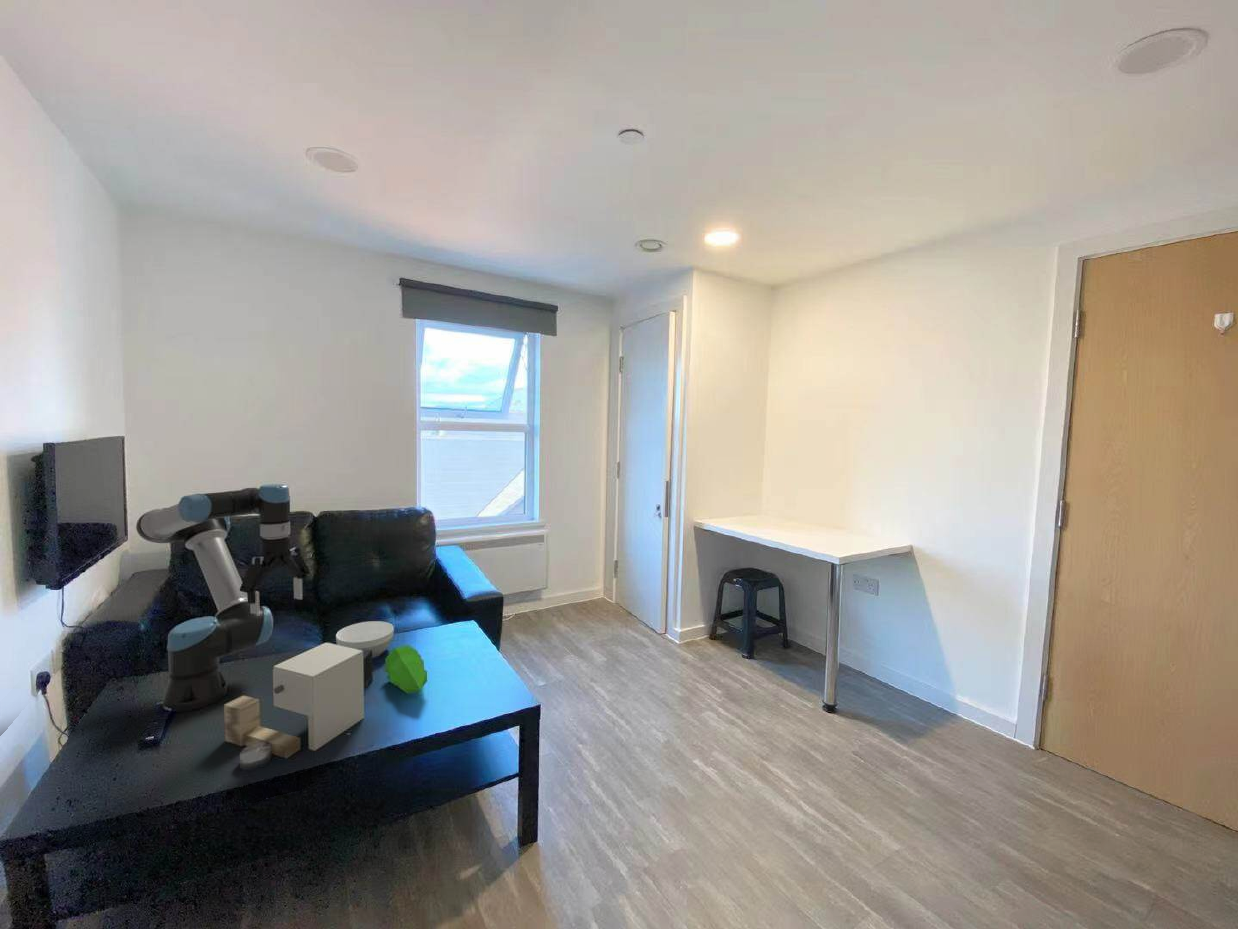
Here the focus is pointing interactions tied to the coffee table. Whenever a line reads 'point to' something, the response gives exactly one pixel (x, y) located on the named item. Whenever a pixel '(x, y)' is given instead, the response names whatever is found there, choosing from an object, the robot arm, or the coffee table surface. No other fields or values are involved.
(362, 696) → the cabinet
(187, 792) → the coffee table surface
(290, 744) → the tan l-shaped block
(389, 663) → the decorative tree
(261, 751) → the grey rounded puck
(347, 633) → the bowl
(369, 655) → the small box
